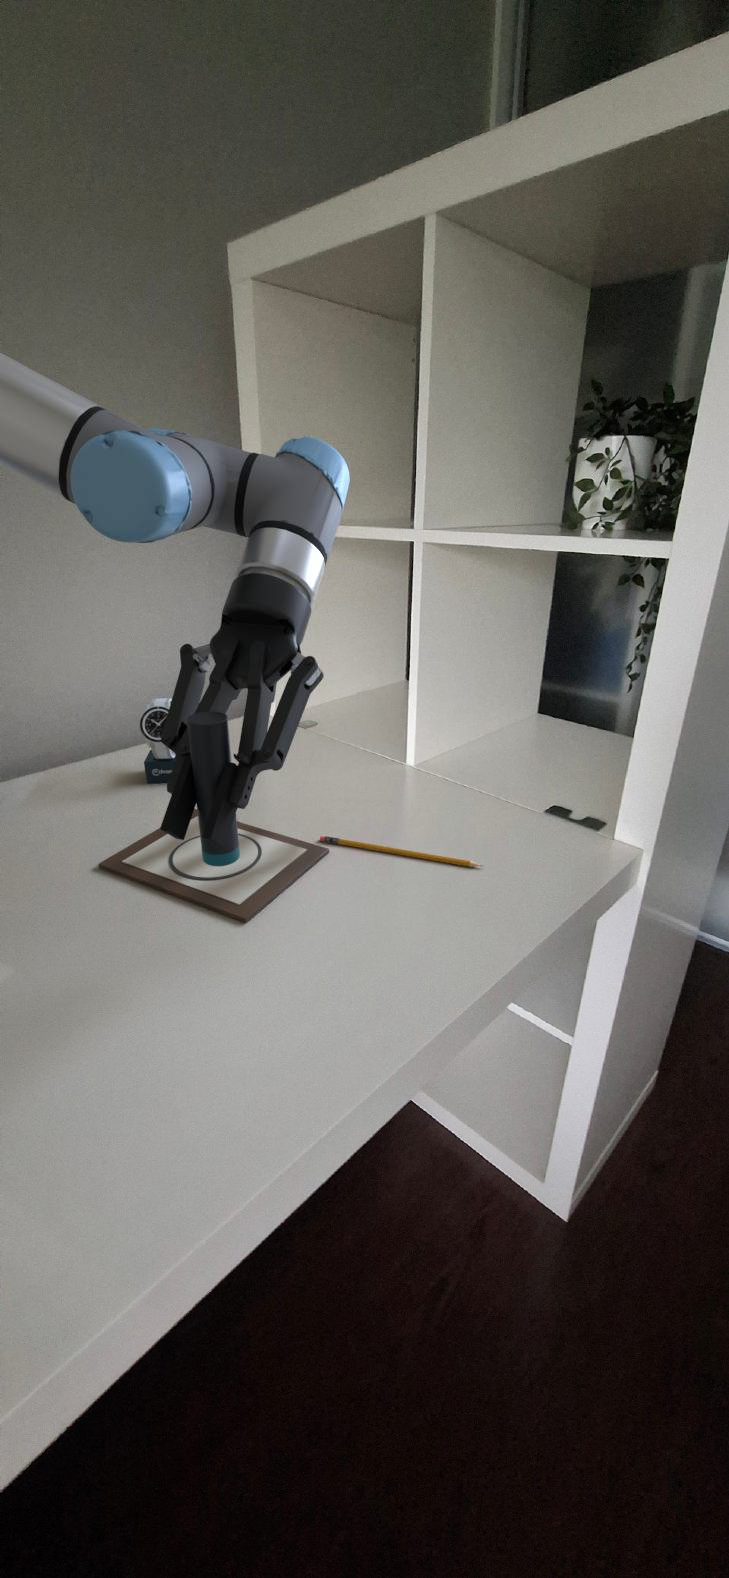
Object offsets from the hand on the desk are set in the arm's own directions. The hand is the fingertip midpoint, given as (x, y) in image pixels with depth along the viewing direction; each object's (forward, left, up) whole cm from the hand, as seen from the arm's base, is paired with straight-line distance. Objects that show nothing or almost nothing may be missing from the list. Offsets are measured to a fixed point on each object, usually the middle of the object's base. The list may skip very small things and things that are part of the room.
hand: (192, 838), depth 56 cm
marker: (-1, +4, -4) cm, 6 cm away
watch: (-30, +27, -12) cm, 42 cm away
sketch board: (-10, +13, -12) cm, 20 cm away
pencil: (+7, +24, -13) cm, 28 cm away
